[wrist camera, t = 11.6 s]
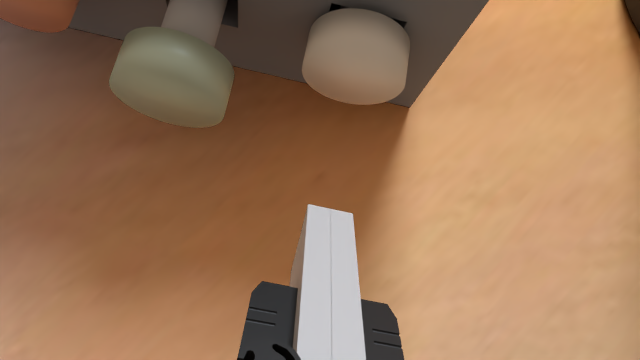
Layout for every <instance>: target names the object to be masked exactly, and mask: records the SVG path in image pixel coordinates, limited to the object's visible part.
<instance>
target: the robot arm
mask: <svg viewBox="0 0 640 360" xmlns="http://www.w3.org/2000/svg"><path fill="white" fill-rule="evenodd" d="M625 2H626V6H627V8H628V11H629V14H630V16H631V18H632V20H633V22H634V24H635V26H636V28H637V30H638V31H639V33H640V0H625ZM401 346H402V345H401V339H400V336H399V328H398V323H397V318H396V317H395V315H394V314H393V312H392V311H391V309H390V308H389V306H388V305H387V304H384V303H378V302H373V301H368V300H363V299H361V298H360V287H359V276H358V265H357V253H356V242H355V231H354V220H353V213H348V212H344V211H339V210H334V209H329V208H324V207H320V206H315V205H310V204H308V206H307V210H306V214H305V218H304V222H303V226H302V230H301V234H300V238H299V242H298V246H297V250H296V254H295V258H294V262H293V266H292V269H291V277H290V286H285V285H279V284H274V283H269V282H264V281H262V282H261V283H260V284H259V285H258V286H257V287H256V288H255V289H254V290H253V292H252V294H251V299H250V303H249V308H248V312H247V317H246V322H245V326H244V331H243V336H242V340H241V345H240V349H239V354H238V358H237V360H404V356H403V351H402V349H401Z"/></svg>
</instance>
